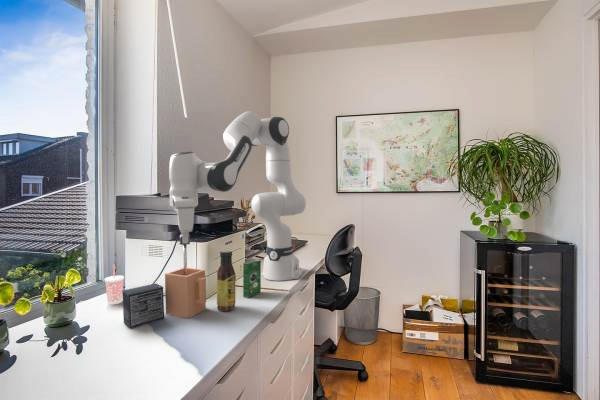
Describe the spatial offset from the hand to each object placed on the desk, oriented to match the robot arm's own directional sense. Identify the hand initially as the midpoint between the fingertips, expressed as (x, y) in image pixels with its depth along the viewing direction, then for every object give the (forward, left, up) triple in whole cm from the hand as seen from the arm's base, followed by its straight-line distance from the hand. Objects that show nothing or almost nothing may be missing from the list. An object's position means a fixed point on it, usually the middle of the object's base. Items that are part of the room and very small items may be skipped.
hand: (184, 241), depth 111 cm
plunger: (0, 0, -14) cm, 14 cm away
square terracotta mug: (0, +2, -24) cm, 24 cm away
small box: (+11, -7, -24) cm, 27 cm away
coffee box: (-23, +12, -24) cm, 35 cm away
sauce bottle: (-7, +11, -24) cm, 27 cm away
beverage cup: (+3, -30, -24) cm, 38 cm away
